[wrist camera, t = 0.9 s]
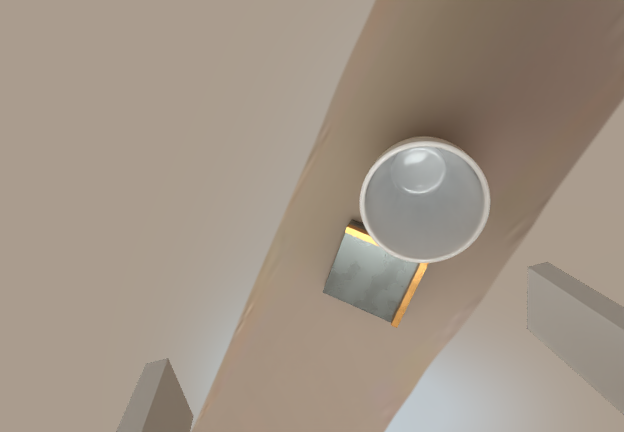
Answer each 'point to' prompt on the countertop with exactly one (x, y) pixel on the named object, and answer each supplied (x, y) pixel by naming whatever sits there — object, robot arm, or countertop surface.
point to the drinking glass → (424, 200)
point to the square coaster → (372, 276)
